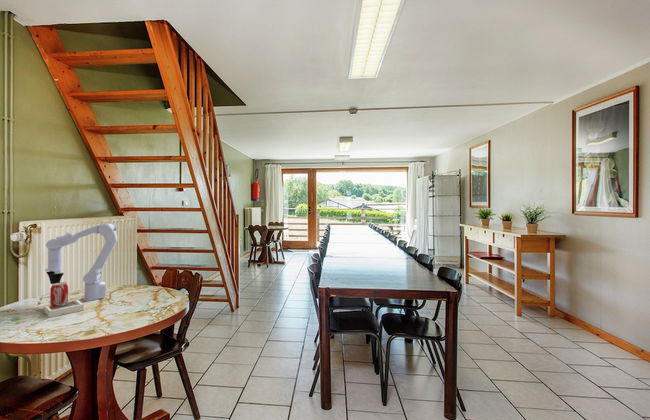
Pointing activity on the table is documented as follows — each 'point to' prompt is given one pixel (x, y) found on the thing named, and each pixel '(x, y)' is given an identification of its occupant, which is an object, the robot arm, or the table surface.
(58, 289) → the soda can
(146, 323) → the table surface
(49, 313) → the frame
